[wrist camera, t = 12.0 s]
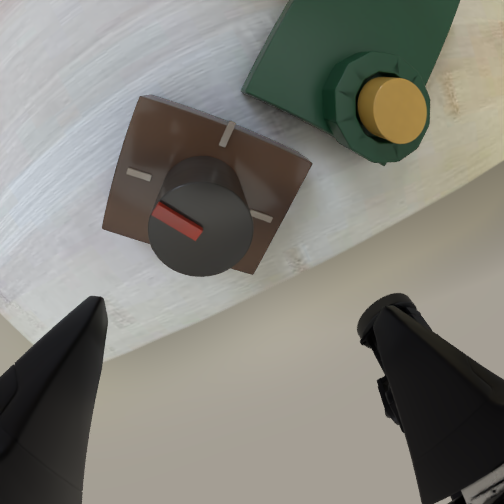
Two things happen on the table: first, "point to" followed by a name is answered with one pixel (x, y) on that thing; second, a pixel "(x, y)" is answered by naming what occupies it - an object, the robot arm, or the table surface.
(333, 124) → the lamp base
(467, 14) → the table surface
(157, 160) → the dimmer panel
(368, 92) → the lamp switch
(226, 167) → the dimmer knob
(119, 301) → the table surface
